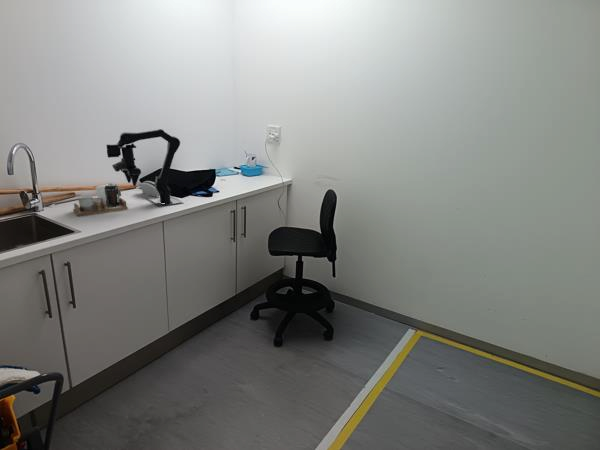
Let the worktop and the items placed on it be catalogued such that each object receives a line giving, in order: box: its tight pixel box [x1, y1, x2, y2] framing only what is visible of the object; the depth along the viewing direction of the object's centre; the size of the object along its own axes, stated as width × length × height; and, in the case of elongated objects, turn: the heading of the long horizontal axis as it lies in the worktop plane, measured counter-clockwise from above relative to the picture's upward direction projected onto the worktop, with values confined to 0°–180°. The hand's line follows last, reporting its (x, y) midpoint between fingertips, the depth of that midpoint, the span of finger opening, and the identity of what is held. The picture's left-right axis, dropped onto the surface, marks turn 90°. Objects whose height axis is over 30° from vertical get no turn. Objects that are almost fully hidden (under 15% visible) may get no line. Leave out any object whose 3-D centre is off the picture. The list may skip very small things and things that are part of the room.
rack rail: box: [72, 196, 129, 217], centre depth 218 cm, size 10×25×8 cm, turn 129°
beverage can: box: [104, 182, 120, 207], centre depth 220 cm, size 7×7×12 cm
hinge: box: [139, 180, 160, 198], centre depth 252 cm, size 17×5×10 cm, turn 55°
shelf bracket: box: [95, 185, 122, 203], centre depth 234 cm, size 6×25×13 cm, turn 48°
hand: (131, 184), depth 226 cm, fingers open, 9 cm apart
